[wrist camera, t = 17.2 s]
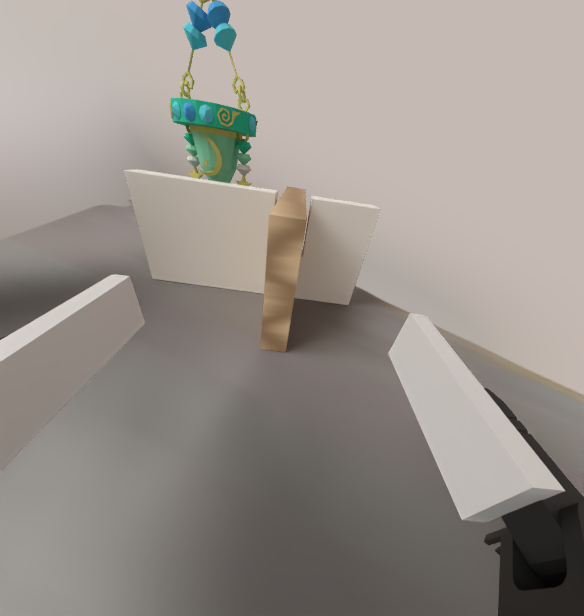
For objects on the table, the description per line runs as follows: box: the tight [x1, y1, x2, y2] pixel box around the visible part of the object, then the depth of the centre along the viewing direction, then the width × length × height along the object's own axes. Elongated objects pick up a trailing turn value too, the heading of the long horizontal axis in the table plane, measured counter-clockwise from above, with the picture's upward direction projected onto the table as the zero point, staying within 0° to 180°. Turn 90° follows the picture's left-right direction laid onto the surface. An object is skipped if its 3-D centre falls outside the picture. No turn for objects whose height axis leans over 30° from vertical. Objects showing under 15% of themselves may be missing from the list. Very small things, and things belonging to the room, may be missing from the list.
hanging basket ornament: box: [170, 0, 257, 186], centre depth 28 cm, size 11×11×30 cm
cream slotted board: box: [124, 170, 380, 305], centre depth 26 cm, size 26×2×12 cm, turn 87°
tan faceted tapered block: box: [261, 187, 307, 352], centre depth 24 cm, size 2×18×12 cm, turn 177°
